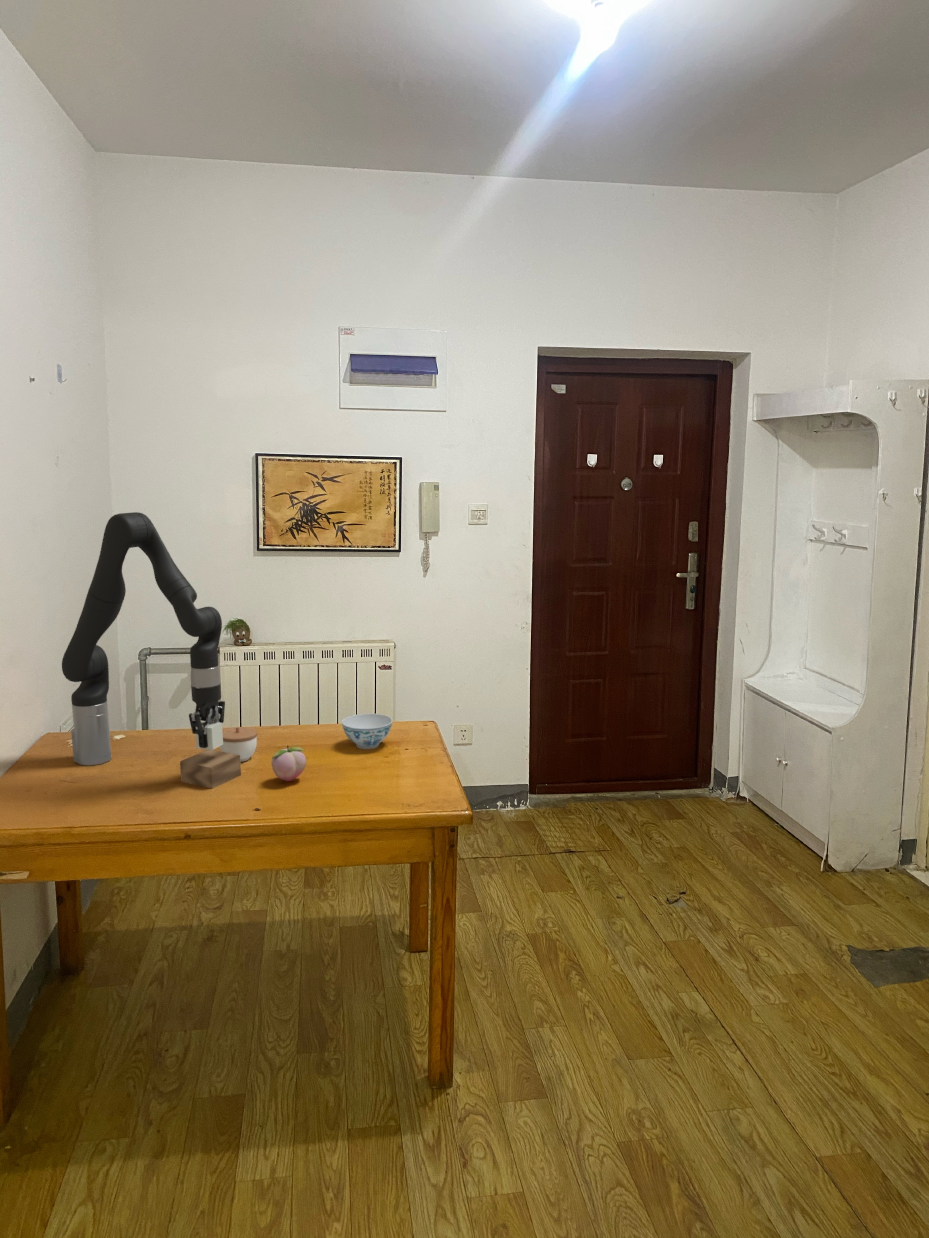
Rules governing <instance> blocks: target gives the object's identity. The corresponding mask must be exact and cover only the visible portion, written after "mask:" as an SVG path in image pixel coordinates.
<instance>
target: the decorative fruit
mask: <svg viewBox="0 0 929 1238" xmlns="http://www.w3.org/2000/svg"><path fill="white" fill-rule="evenodd" d="M303 752H305V749H304V748H302V747H299V746H293V747H289V745H287V747H286V748H284V749H283V748H282V749H280V750H278V751H276V752H275V753H274V754H273V755H272V758H271V769H272V770H273V773H274V775H275V776H276V777H277V778H279V779H281V780H282V781H286V782H292V781H294V780H296V779H297V778H298V777H300V775H301V774H302V773H303V772H304V770H305V768H306V767H307V757H306V756H305V754H304V753H303Z"/></svg>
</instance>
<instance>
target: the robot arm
mask: <svg viewBox="0 0 929 1238" xmlns="http://www.w3.org/2000/svg"><path fill="white" fill-rule="evenodd" d="M106 522H107V523H106V525H105V528H104V532H103V536H102V542H101V547H100V552H99V555H98V560H97V563H96V566H95V567H96V568H95V570H94V573H93V577H92V580H91V582H90V585H89V587H88V591H87V594H86V597H85V601H84V604H83V606H82V610H81V613H80V615H79V618H78V621H77V624H76V627H75V629H74V632H73V635H72V636H71V639H70V641H69V642H68V645H67V647H66V650H65V652H64V654H63V657H62V660H61V672H62V674H63V676H64V678H65V679H66V680H68V681H69V682H71V683H72V682H73V683H80V684H79V686H78V687H77V688H76V689H75V691H74V692H72V694H71V709H72V720H73V728H72V729H71V730H70V734H71V743H72V755H73V756H72V757H73V762H74V763H77V764H78V765H81V766H96V765H102V764H105V763H107V762H109V761H111V760H112V758H113V757H112V744H111V732H110V721H109V720H110V719H109V709H108V707H109V706H108V693H109V689H110V677H109V676H110V674H109V672H110V670H109V660H108V656H107V654H106V651H105V650H104V649H103V648H102V647H101V646H100V645H98V642H99V640H100V639H101V638H102V636H103V635H104V634H105V632H107V631H108V629H109V628H110V627H111V626H112V624H113V623H114V621H115V620H116V619H117V618H118V616H119V614H120V611H121V610H122V606H123V603H124V600H125V597H126V583H125V579H124V575H123V565H124V562H125V559H126V555H127V554H128V552H129V550H130V549H131V548H139V549H140V550H141V551H142V552H143V553H144V554H145V555H146V556H147V558H148V560H149V561H150V562H151V563H150V564H151V567H152V570H153V575H154V579H155V583H156V585H157V587H158V589H159V590H160V592H161V593H162V594H163V596H164V598H165V599H167V601H168V602H169V603H170V605H171V606H172V608H173V611H174V613H175V616H176V618H177V621H178V623H179V625H180V627H181V628H182V630H183V631H184V633H186V634H187V635H189V636H190V637H193V638H197V641H196V643H194V644H193V645H192V646H191V647H190V649H189V659H190V675H189V676H190V690H191V691H190V693H191V701H192V702H193V703H195V705H196V706H195V711H194V712H193V713H189V714H188V720H189V722H190V723H189V724H190V726H191V727H190V728H191V733H192V734H194V735H196V734H198V738H199V747H200V748H207V747H208V740H207V728H208V726H209V725H210V722H215V723H217V722H218V723H222V724H223V723H224V722H225V711H226V710H225V709H226V706H225V705H226V701H224V700H221V699H222V686H221V684H222V683H221V673H220V666H219V654H218V650H219V649H218V648H219V645H220V640H221V635H222V627H223V621H222V616H221V614H220V612H219V610H217V608H216V607H213V606H203V607H200V608H197V607H196V606H195V604H194V603H195V602H196V600H197V599H198V593H197V592H196V590H195V589H194V587H193V586H192V584H191V583H190V582H189V580H188V579H187V578H186V577H185V575H184V574H183V572H182V571H181V570H180V569H179V567H178V566H177V564H176V563H175V562H174V560H173V558H172V556H171V555H170V552H169V551H168V549H167V547H166V545H165V543H164V542H163V540H162V537H161V536H160V534H159V532H158V530H157V528H156V527H155V525H154V523H153V522H152V520H151V519H150V518H149V516H147V515H146V514H144V513H143V512H139V511H138V512H125V513H124V512H123V513H122V512H121V513H117V514H114V515H112V516H111V517H110V518H109V519H108V521H106ZM205 721H206V722H205ZM203 722H205V723H203ZM202 725H203V726H204V728H203V729H202ZM196 727H197V729H196Z"/></svg>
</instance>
